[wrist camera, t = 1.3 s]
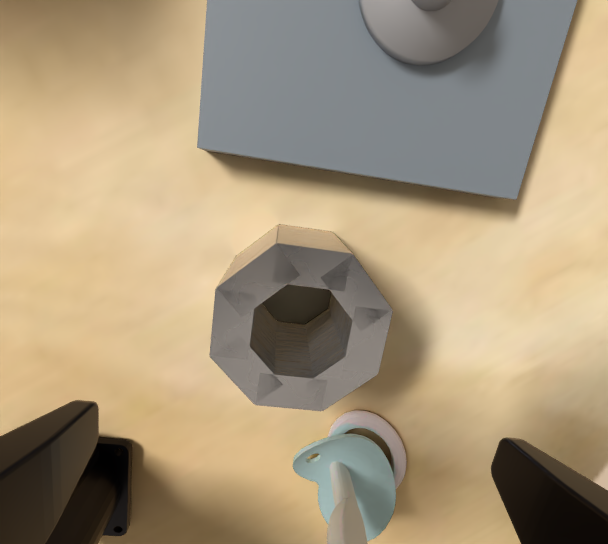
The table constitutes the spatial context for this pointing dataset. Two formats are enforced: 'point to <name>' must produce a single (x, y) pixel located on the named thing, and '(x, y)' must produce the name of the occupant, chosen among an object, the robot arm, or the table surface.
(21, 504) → the robot arm
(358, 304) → the hub
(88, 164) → the table surface
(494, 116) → the block
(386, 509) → the pacifier
